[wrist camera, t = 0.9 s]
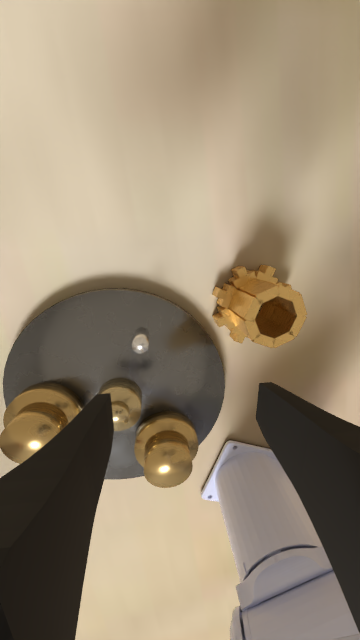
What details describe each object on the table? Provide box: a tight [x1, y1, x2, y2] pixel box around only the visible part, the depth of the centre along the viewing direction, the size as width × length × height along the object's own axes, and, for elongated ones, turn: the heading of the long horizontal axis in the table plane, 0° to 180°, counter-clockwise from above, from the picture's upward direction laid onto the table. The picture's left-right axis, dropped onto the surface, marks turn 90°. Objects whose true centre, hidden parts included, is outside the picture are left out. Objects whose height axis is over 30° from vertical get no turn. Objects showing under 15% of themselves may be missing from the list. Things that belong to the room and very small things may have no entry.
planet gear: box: [212, 265, 307, 348], centre depth 18 cm, size 7×7×5 cm
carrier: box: [0, 288, 225, 488], centre depth 19 cm, size 19×19×4 cm
